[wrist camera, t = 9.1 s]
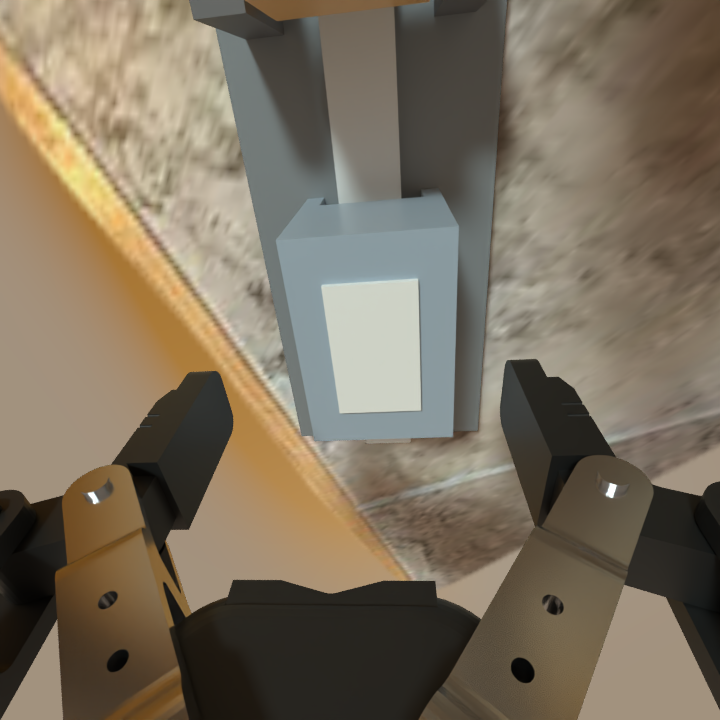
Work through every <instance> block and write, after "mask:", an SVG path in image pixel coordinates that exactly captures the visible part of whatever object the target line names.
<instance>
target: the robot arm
mask: <svg viewBox="0 0 720 720" xmlns="http://www.w3.org/2000/svg"><path fill="white" fill-rule="evenodd" d="M500 417H501V424H502V428H503V431H504V434H505V437H506V440H507V443H508V446H509V449H510V452H511V455H512V458H513V461H514V464H515V467H516V470H517V473H518V477H519V480H520V483H521V486H522V489H523V492H524V495H525V498H526V501H527V504H528V507H529V510H530V513H531V516H532V519H533V522H534V525H535V528H534V529H533V530H532V532H531V534H530V535H529V537H528V539H527V541H526V542H525V544H524V546H523V548H522V549H521V551H520V553H519V555H518V556H517V558H516V560H515V562H514V563H513V565H512V567H511V569H510V570H509V572H508V574H507V576H506V577H505V579H504V581H503V583H502V584H501V586H500V588H499V590H498V591H497V593H496V595H495V597H494V599H493V600H492V602H491V604H490V605H489V607H488V609H487V611H486V612H485V614H484V616H483V618H482V619H480V618H478V617H477V616H476V615H474V614H473V613H472V612H470V611H468V610H466V609H464V608H463V607H461V606H459V605H456V604H454V603H451V602H449V601H447V600H443V599H440V598H437V595H436V584H435V581H381V582H377V583H373V584H369V585H366V586H362V587H358V588H354V589H350V590H346V591H342V592H338V593H333V594H328V593H324V592H320V591H317V590H313V589H310V588H306V587H303V586H299V585H296V584H292V583H289V582H286V581H282V580H233V582H232V586H231V588H230V592H229V595H228V597H226V598H223V599H220V600H217V601H215V602H212V603H210V604H208V605H206V606H204V607H202V608H200V609H198V610H197V611H195V612H193V613H191V610H190V608H189V605H188V602H187V600H186V597H185V594H184V591H183V587H182V584H181V581H180V579H179V575H178V573H177V569H176V567H175V563H174V560H173V557H172V554H171V551H170V548H169V546H168V544H167V542H166V538H167V536H168V534H169V532H170V530H187V529H188V530H189V528H190V526H191V523H192V521H193V519H194V517H195V515H196V512H197V510H198V508H199V506H200V503H201V501H202V499H203V497H204V494H205V492H206V490H207V487H208V485H209V483H210V481H211V479H212V476H213V474H214V472H215V470H216V467H217V465H218V463H219V461H220V458H221V456H222V454H223V452H224V449H225V447H226V445H227V443H228V441H229V438H230V436H231V434H232V430H233V414H232V410H231V407H230V404H229V401H228V398H227V394H226V391H225V388H224V385H223V382H222V379H221V376H220V374H219V373H218V372H217V371H207V372H206V371H205V372H190V373H188V374H187V375H186V377H185V378H184V380H183V381H182V383H181V384H180V386H179V387H178V388H177V390H171V391H170V392H169V393H167V394H166V395H165V396H163V397H162V398H161V399H160V400H158V401H157V402H156V403H155V405H154V406H153V408H152V409H151V410H150V412H149V413H148V417H145V419H144V420H143V421H142V423H141V424H140V428H137V430H136V431H135V432H134V434H133V435H132V436H131V438H130V439H129V441H128V442H127V443H126V445H125V446H124V447H123V449H122V450H121V452H120V453H119V454H118V456H117V457H116V459H115V460H114V461H113V463H112V464H111V465H106V466H102V467H99V468H96V469H94V470H92V471H90V472H88V473H86V474H84V475H82V476H81V477H80V478H78V479H77V480H76V481H75V482H73V484H71V486H70V487H69V488H68V489H67V491H66V492H65V494H64V495H63V496H60V497H56V498H52V499H48V500H44V501H40V502H37V503H33V504H30V503H29V502H28V500H27V499H26V498H25V496H24V495H23V494H22V493H21V492H19V491H17V490H5V491H0V719H1V718H2V716H3V714H4V712H5V711H6V709H7V707H8V705H9V704H10V702H11V700H12V698H13V697H14V695H15V693H16V691H17V690H18V688H19V686H20V684H21V682H22V681H23V679H24V677H25V675H26V674H27V672H28V670H29V668H30V666H31V665H32V663H33V661H34V659H35V658H36V656H37V654H38V652H39V650H40V649H41V647H42V645H43V643H44V642H45V640H46V638H47V636H48V634H49V632H50V631H51V629H52V627H53V626H54V624H55V622H56V620H57V623H58V640H59V658H60V673H61V674H60V675H61V692H62V708H63V720H577V719H578V716H579V713H580V710H581V708H582V705H583V702H584V699H585V696H586V693H587V690H588V687H589V684H590V682H591V679H592V676H593V673H594V670H595V667H596V664H597V661H598V658H599V656H600V653H601V650H602V647H603V644H604V641H605V638H606V635H607V632H608V630H609V626H610V624H611V621H612V618H613V615H614V612H615V609H616V606H617V604H618V601H619V598H620V595H621V592H622V589H623V586H624V585H627V586H630V587H634V588H637V589H640V590H644V591H647V592H651V593H654V594H657V595H661V596H664V597H666V598H667V600H668V602H669V604H670V607H671V609H672V611H673V613H674V615H675V617H676V619H677V621H678V623H679V625H680V628H681V629H682V632H683V633H684V636H685V638H686V640H687V642H688V644H689V646H690V648H691V651H692V653H693V655H694V657H695V659H696V661H697V663H698V665H699V667H700V669H701V671H702V674H703V676H704V678H705V680H706V682H707V684H708V686H709V688H710V690H711V692H712V695H713V697H714V699H715V701H716V703H717V705H718V707H719V709H720V482H715V483H713V484H711V485H709V486H708V487H707V488H706V490H705V491H704V493H703V495H702V496H698V495H693V494H689V493H684V492H679V491H675V490H670V489H666V488H662V487H658V486H655V485H652V484H651V482H650V480H649V478H648V477H647V476H646V475H645V474H644V473H643V472H642V471H641V470H640V469H638V468H637V467H636V466H634V465H632V464H631V463H629V462H627V461H624V460H622V459H619V458H616V456H615V455H614V453H613V452H612V450H611V448H610V447H609V445H608V443H607V442H606V440H605V438H604V437H603V435H602V434H601V432H600V430H599V429H598V427H597V425H596V424H595V422H594V420H593V419H592V417H591V416H589V412H588V411H587V409H586V407H585V406H584V405H582V401H581V399H580V398H579V396H578V394H577V393H576V391H575V389H574V388H573V387H571V386H570V385H569V384H567V383H566V382H565V381H563V380H562V379H561V378H559V377H547V376H546V374H545V372H544V371H543V369H542V367H541V365H540V363H539V361H538V360H537V359H525V360H507V362H506V364H505V369H504V378H503V387H502V395H501V404H500Z"/></svg>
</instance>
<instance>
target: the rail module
mask: <svg viewBox="0 0 720 720" xmlns="http://www.w3.org/2000/svg"><path fill="white" fill-rule="evenodd" d="M458 238H459V226H458V224H457V222H456V220H455V218H454V216H453V214H452V213H451V211H450V209H449V207H448V205H447V203H446V201H445V199H444V197H443V196H442V194H441V192H440V190H439V188H431V189H421V197H415V198H403V199H391V200H379V201H367V202H355V203H343V204H331V205H325V200H324V198H314V199H307V201H306V202H305V203H304V204H303V206H302V207H301V208H300V210H299V211H298V212H297V213H296V215H295V216H294V217H293V219H292V220H291V221H290V222H289V224H288V225H287V226H286V228H285V229H284V230H283V232H282V233H281V234H280V235H279V237H278V238H277V239H276V244H277V250H278V255H279V260H280V265H281V270H282V275H283V281H284V286H285V291H286V296H287V301H288V306H289V312H290V317H291V322H292V327H293V332H294V337H295V343H296V348H297V353H298V358H299V363H300V368H301V373H302V379H303V384H304V389H305V394H306V399H307V404H308V410H309V415H310V420H311V425H312V430H313V435H314V441H335V440H368V439H401V438H434V437H453V417H454V381H455V346H456V310H457V274H458Z"/></svg>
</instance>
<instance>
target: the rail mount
mask: <svg viewBox="0 0 720 720" xmlns="http://www.w3.org/2000/svg"><path fill="white" fill-rule="evenodd" d="M189 1H190V6H191V10H192V14H193V19H194V20H196V21H199V22H201V23H204V24H206V25H209V26H212V27H214V28H216V32H217V37H218V42H219V47H220V51H221V56H222V61H223V66H224V70H225V75H226V80H227V84H228V89H229V94H230V99H231V103H232V108H233V113H234V118H235V122H236V127H237V132H238V136H239V141H240V146H241V151H242V155H243V160H244V165H245V170H246V174H247V179H248V184H249V188H250V193H251V198H252V203H253V207H254V212H255V217H256V222H257V226H258V231H259V236H260V241H261V245H262V250H263V255H264V259H265V264H266V269H267V274H268V278H269V283H270V288H271V293H272V297H273V302H274V307H275V311H276V316H277V321H278V326H279V330H280V335H281V340H282V345H283V349H284V354H285V359H286V363H287V368H288V373H289V378H290V382H291V387H292V392H293V397H294V401H295V406H296V411H297V416H298V420H299V425H300V430H301V434H302V436H314V435H313V430H312V425H311V420H310V415H309V410H308V404H307V399H306V394H305V389H304V384H303V379H302V373H301V368H300V363H299V358H298V353H297V348H296V343H295V337H294V332H293V327H292V322H291V317H290V312H289V306H288V301H287V296H286V291H285V286H284V281H283V275H282V270H281V265H280V260H279V255H278V250H277V244H276V239H277V238H278V237H279V235H280V234H281V233H282V232H283V230H284V229H285V228H286V226H287V225H288V224H289V222H290V221H291V220H292V219H293V217H294V216H295V215H296V213H297V212H298V211H299V210H300V208H301V207H302V206H303V204H304V203H305V202H306V201H307V199H314V198H324V200H325V205H331V204H343V203H355V202H367V201H379V200H391V199H403V198H415V197H421V189H431V188H439V190H440V192H441V194H442V196H443V197H444V199H445V201H446V203H447V205H448V207H449V209H450V211H451V213H452V214H453V216H454V218H455V220H456V222H457V224H458V226H459V238H458V274H457V310H456V346H455V381H454V417H453V431H478V419H479V404H480V390H481V375H482V360H483V346H484V331H485V316H486V301H487V287H488V272H489V257H490V243H491V228H492V213H493V198H494V184H495V169H496V154H497V140H498V125H499V110H500V95H501V81H502V66H503V51H504V37H505V22H506V7H507V0H430V1H429V2H426V3H418V4H410V5H402V6H394V7H386V8H378V9H370V10H362V11H354V12H346V13H338V14H330V15H322V16H314V17H306V18H298V19H290V20H282V21H276V20H274V19H273V18H271V17H269V16H268V15H266V14H265V13H263V12H262V11H260V10H259V9H257V8H256V7H254V6H253V5H251V4H250V3H248V2H247V1H245V0H189ZM409 442H411V438H401V439H368V440H365V443H366V444H374V443H409Z"/></svg>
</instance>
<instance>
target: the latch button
mask: <svg viewBox="0 0 720 720" xmlns="http://www.w3.org/2000/svg"><path fill="white" fill-rule="evenodd" d="M245 1H247V2H248V3H250V4H251V5H253V6H254V7H256V8H257V9H259V10H260V11H262V12H263V13H265V14H266V15H268V16H269V17H271V18H273V19H274V20H276V21H282V20H290V19H298V18H306V17H314V16H322V15H330V14H338V13H346V12H354V11H362V10H370V9H378V8H386V7H394V6H402V5H410V4H418V3H426V2H429V1H430V0H245Z"/></svg>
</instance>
